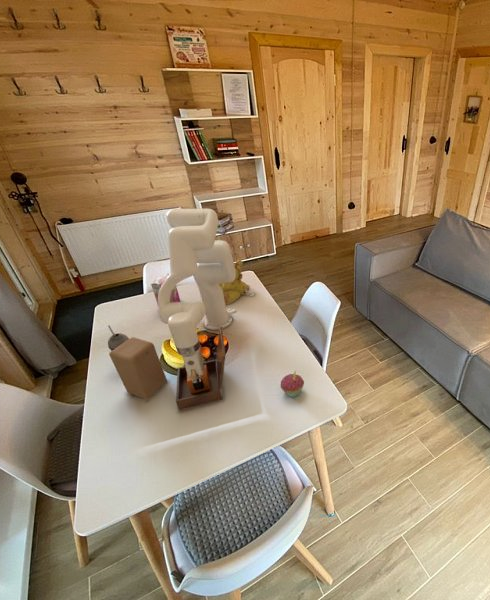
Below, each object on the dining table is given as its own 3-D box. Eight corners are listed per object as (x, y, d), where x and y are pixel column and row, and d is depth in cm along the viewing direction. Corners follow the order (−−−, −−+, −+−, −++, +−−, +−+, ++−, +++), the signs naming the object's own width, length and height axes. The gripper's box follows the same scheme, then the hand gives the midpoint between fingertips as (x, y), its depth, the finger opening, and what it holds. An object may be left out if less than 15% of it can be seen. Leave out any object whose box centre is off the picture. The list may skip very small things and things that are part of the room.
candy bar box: (168, 313, 167) (159, 284, 158) (159, 312, 168) (149, 283, 159) (181, 301, 176) (173, 273, 168) (172, 300, 177) (164, 272, 168)
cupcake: (308, 388, 128) (307, 365, 122) (296, 403, 122) (294, 380, 115) (289, 380, 131) (287, 357, 125) (276, 395, 125) (273, 372, 118)
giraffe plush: (212, 286, 190) (205, 256, 179) (255, 284, 193) (251, 254, 183) (206, 306, 173) (197, 273, 162) (253, 303, 177) (248, 271, 166)
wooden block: (168, 382, 129) (153, 341, 118) (147, 401, 121) (129, 360, 110) (148, 375, 131) (132, 335, 121) (126, 393, 123) (106, 352, 113)
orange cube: (209, 376, 130) (206, 364, 126) (210, 389, 125) (206, 376, 121) (191, 381, 128) (187, 368, 124) (191, 393, 123) (186, 381, 119)
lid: (223, 356, 112) (225, 356, 113) (219, 326, 126) (222, 326, 126) (218, 389, 119) (221, 389, 119) (216, 358, 132) (218, 358, 133)
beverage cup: (130, 373, 132) (112, 333, 121) (114, 370, 133) (94, 330, 123) (143, 360, 138) (127, 321, 127) (128, 357, 139) (110, 319, 129)
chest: (179, 411, 117) (175, 401, 115) (181, 377, 131) (177, 367, 128) (222, 400, 122) (220, 390, 119) (219, 368, 136) (217, 359, 133)
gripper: (200, 359, 110) (211, 396, 120) (199, 328, 123) (209, 363, 133) (175, 365, 107) (188, 401, 117) (177, 332, 121) (189, 368, 131)
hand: (199, 381), depth 125 cm, fingers closed on orange cube, 6 cm apart
